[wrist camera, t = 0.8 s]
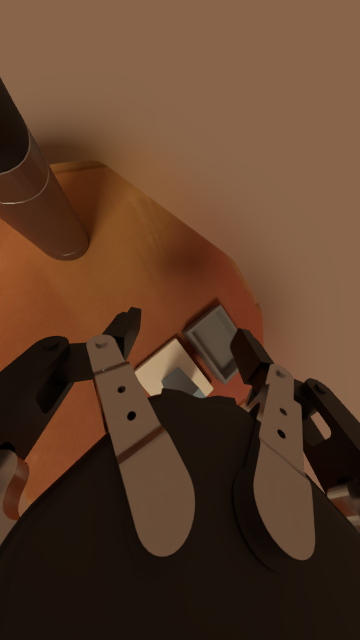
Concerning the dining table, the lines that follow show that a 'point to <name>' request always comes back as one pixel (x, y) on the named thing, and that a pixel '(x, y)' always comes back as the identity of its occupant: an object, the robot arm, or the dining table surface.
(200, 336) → the tray
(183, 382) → the tile block
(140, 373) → the bench board
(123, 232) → the dining table surface
